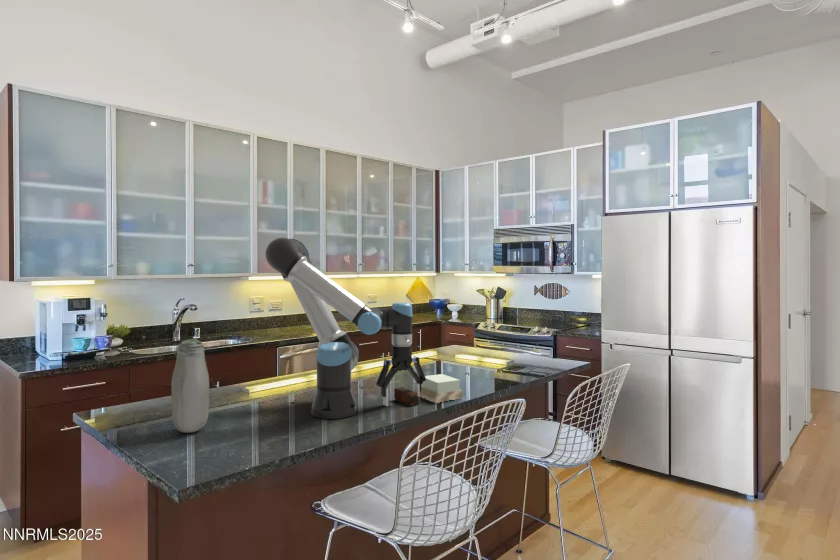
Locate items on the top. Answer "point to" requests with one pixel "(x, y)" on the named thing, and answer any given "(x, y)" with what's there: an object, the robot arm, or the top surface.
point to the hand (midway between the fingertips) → (401, 403)
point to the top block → (441, 383)
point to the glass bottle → (190, 387)
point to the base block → (440, 395)
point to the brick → (406, 396)
